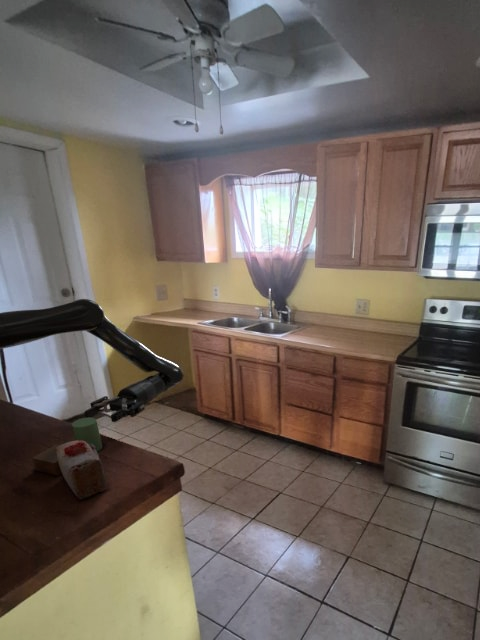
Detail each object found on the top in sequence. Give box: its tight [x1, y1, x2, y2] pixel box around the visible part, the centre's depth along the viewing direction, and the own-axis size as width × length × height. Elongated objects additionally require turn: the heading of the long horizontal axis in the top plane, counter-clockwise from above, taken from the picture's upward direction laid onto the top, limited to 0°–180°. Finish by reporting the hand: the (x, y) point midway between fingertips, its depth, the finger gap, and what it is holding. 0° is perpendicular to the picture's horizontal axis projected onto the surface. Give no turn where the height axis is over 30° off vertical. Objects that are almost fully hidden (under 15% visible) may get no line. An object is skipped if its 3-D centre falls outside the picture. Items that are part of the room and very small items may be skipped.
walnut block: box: [31, 443, 62, 476], centre depth 91 cm, size 7×7×4 cm
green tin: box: [71, 417, 103, 452], centre depth 97 cm, size 6×6×8 cm
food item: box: [56, 440, 108, 500], centre depth 84 cm, size 14×8×10 cm, turn 44°
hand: (99, 417), depth 100 cm, fingers open, 8 cm apart
